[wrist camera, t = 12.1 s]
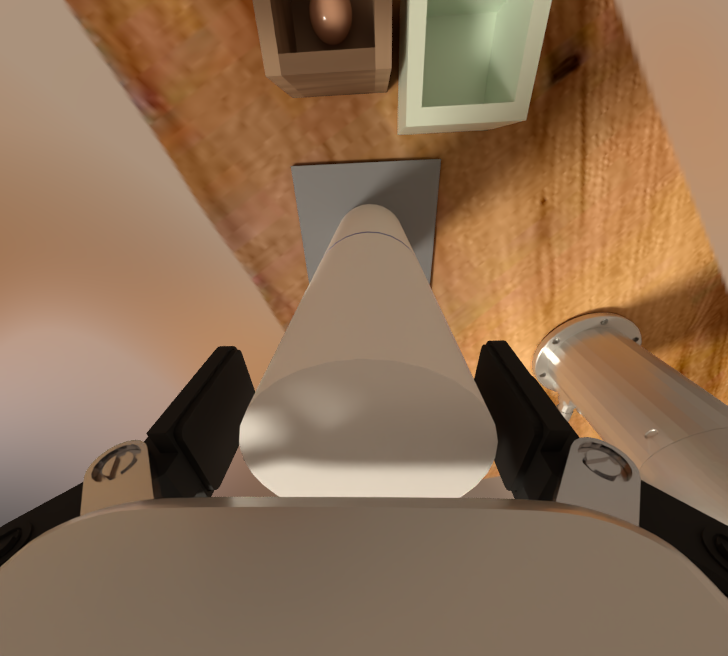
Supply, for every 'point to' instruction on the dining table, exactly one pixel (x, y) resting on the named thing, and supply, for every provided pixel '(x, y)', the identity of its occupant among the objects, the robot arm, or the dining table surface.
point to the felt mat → (367, 202)
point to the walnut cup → (325, 49)
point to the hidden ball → (331, 19)
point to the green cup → (467, 63)
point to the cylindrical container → (368, 382)
